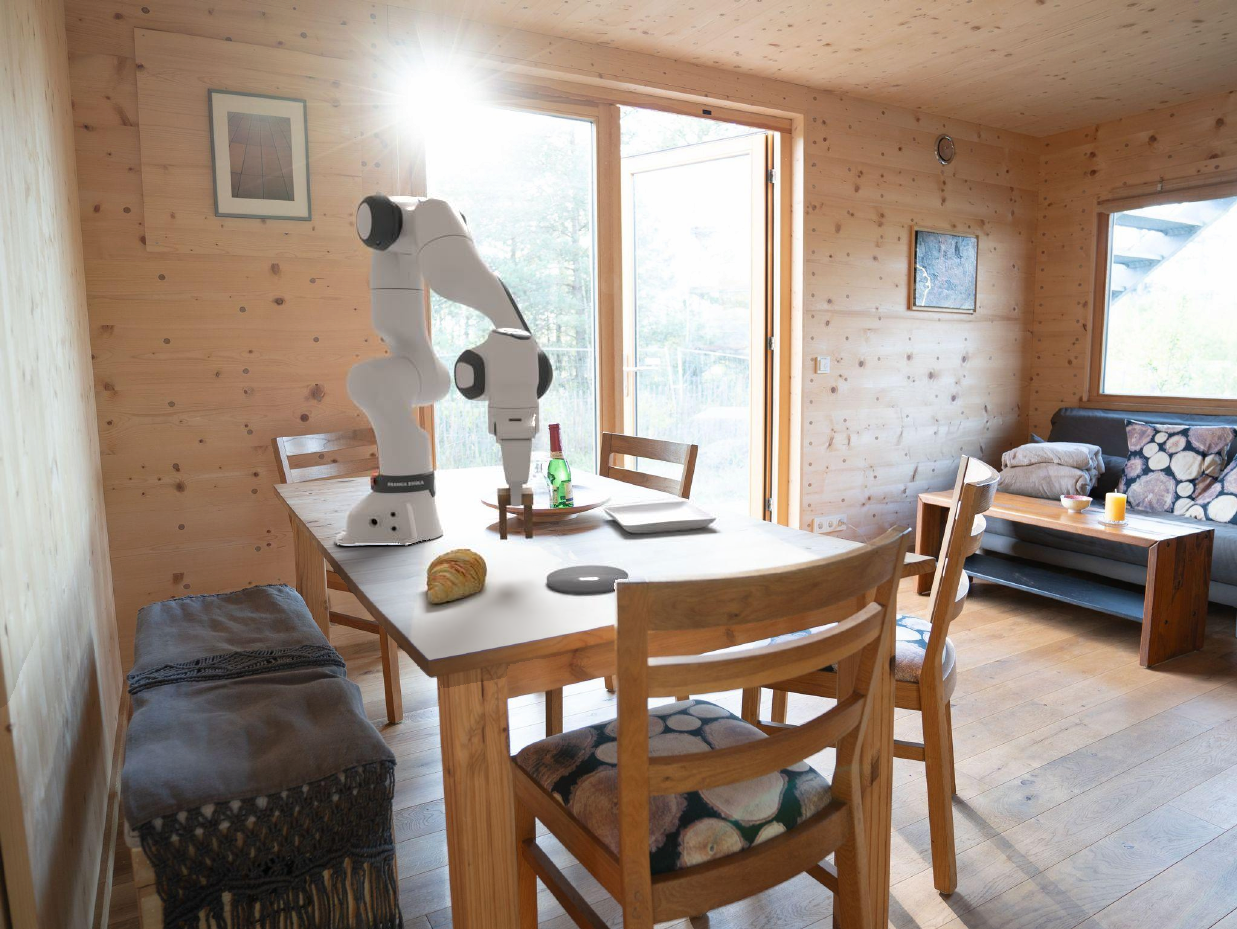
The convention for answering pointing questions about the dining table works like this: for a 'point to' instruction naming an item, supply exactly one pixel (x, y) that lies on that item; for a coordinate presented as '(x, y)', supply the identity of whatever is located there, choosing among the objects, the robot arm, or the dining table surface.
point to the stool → (505, 501)
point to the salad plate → (660, 517)
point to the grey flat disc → (585, 579)
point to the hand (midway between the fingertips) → (515, 501)
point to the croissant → (455, 575)
